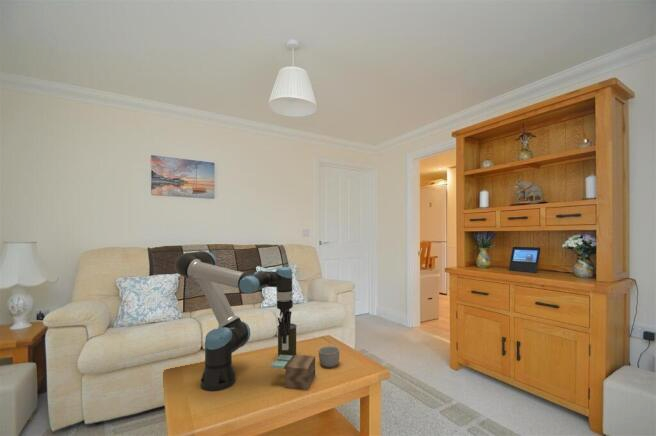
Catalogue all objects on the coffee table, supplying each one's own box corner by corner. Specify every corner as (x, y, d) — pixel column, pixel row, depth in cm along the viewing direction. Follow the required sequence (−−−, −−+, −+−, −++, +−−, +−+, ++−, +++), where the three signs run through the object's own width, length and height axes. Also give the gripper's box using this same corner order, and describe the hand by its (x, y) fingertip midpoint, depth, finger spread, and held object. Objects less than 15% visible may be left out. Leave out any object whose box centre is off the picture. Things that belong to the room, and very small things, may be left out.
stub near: (270, 367, 143) (270, 365, 143) (274, 363, 148) (274, 360, 148) (285, 369, 142) (285, 366, 142) (289, 364, 147) (289, 361, 147)
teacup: (337, 370, 158) (337, 354, 158) (316, 368, 160) (316, 352, 160) (341, 359, 172) (341, 344, 172) (322, 357, 174) (322, 342, 174)
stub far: (276, 361, 150) (276, 358, 150) (280, 357, 155) (280, 354, 155) (290, 362, 149) (290, 359, 149) (293, 358, 153) (293, 355, 153)
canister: (278, 354, 178) (277, 318, 178) (296, 354, 179) (296, 318, 179) (276, 363, 167) (276, 324, 167) (296, 362, 168) (296, 324, 169)
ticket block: (285, 387, 141) (285, 366, 141) (295, 373, 155) (295, 354, 155) (307, 390, 139) (307, 368, 139) (315, 375, 153) (315, 356, 153)
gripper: (287, 303, 145) (288, 355, 145) (296, 297, 158) (297, 345, 157) (272, 302, 147) (272, 354, 146) (282, 296, 160) (282, 344, 159)
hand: (285, 349), depth 152 cm, fingers closed
